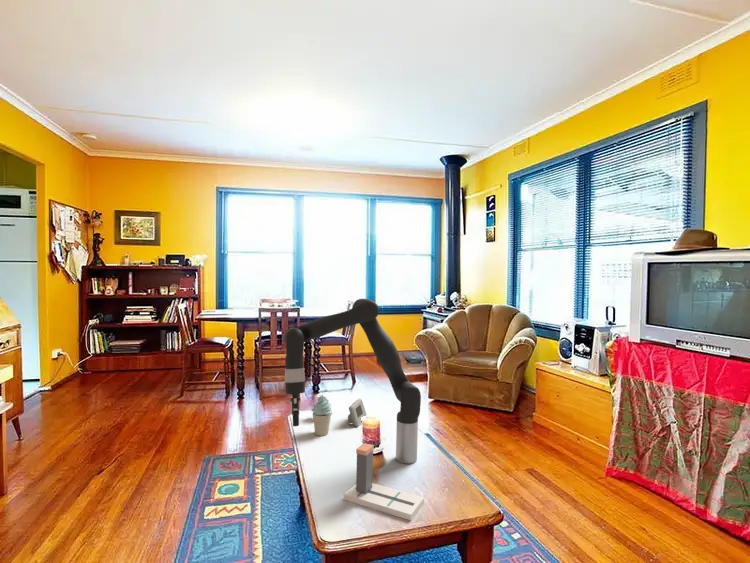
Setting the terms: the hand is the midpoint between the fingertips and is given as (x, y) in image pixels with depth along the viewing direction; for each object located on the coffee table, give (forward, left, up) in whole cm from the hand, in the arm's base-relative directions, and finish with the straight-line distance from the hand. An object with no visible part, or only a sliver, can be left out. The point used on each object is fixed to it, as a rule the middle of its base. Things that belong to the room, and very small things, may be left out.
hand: (296, 423), depth 163 cm
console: (-6, +35, -23) cm, 42 cm away
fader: (-6, +27, -21) cm, 35 cm away
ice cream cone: (-46, -19, -24) cm, 55 cm away
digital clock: (-69, -11, -24) cm, 73 cm away
